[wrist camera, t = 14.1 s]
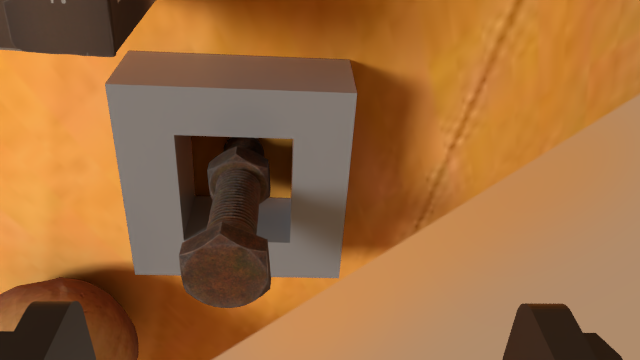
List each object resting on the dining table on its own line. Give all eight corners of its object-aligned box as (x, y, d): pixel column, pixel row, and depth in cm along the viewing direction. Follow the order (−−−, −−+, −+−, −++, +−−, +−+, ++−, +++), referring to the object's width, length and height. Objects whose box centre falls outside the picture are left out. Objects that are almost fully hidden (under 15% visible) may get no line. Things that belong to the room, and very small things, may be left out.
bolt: (256, 107, 44) (240, 226, 31) (291, 155, 46) (290, 283, 33) (195, 142, 45) (157, 270, 32) (233, 187, 47) (211, 322, 35)
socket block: (349, 59, 42) (357, 93, 37) (334, 231, 50) (338, 278, 45) (128, 50, 41) (105, 84, 36) (151, 227, 49) (135, 274, 44)
